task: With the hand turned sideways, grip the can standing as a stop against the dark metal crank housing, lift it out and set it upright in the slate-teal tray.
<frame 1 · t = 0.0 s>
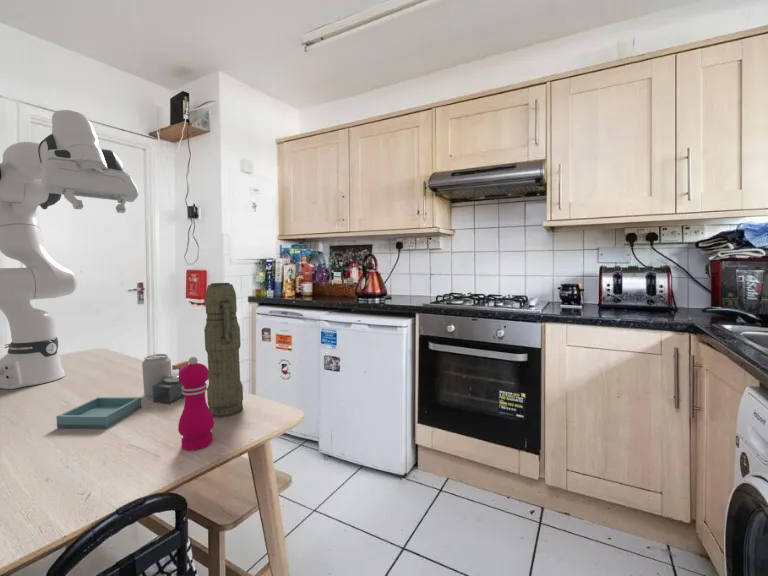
hand: (101, 210, 95), 54 cm above the table, tool tilted 30°, fingers open, 8 cm apart
crank housing: (178, 395, 113), on the table
pepper mill: (197, 444, 83), on the table
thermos: (226, 411, 101), on the table
tray: (102, 417, 98), on the table
can: (158, 394, 115), on the table
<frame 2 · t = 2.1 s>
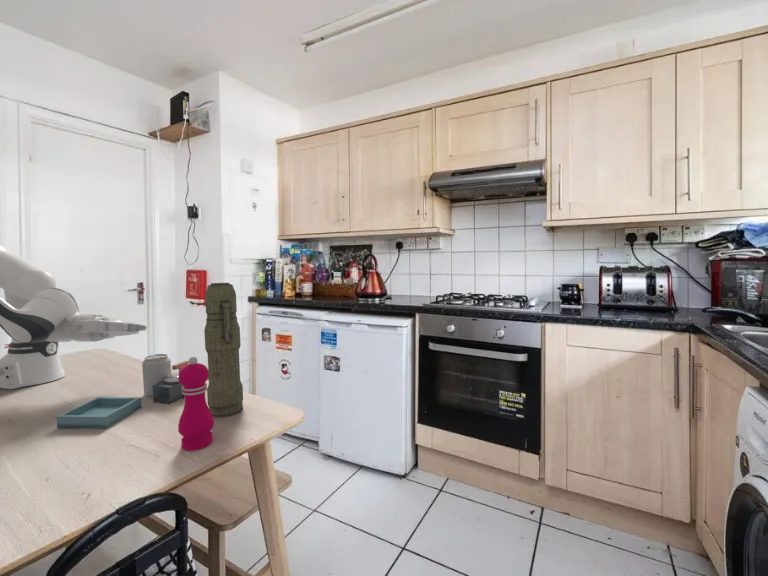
hand: (136, 327, 118), 20 cm above the table, tool horizontal, fingers open, 8 cm apart
nothing on the table moved.
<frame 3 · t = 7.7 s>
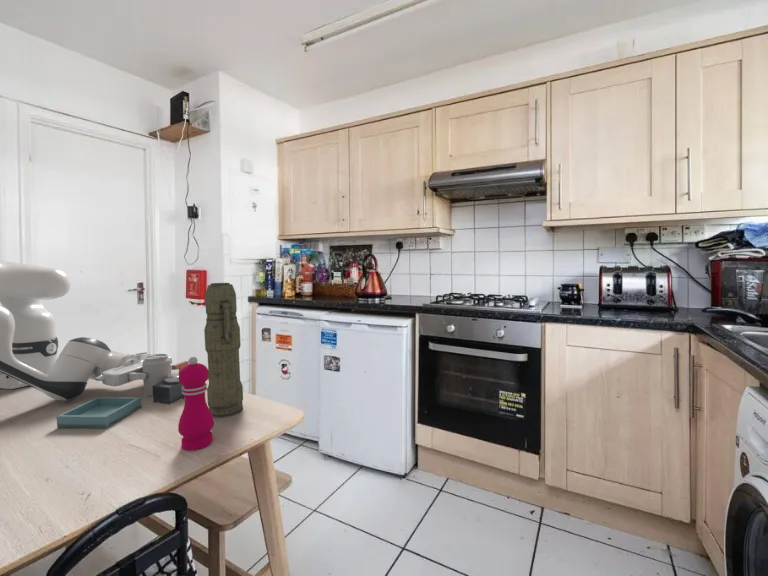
hand: (159, 371, 114), 7 cm above the table, tool horizontal, fingers closed on can, 7 cm apart
can: (158, 394, 115), on the table, touching gripper
everything else where it was.
when the fingers open (10 cm above the table, at t = 12.9 s): can stays where it is, resting on tray.
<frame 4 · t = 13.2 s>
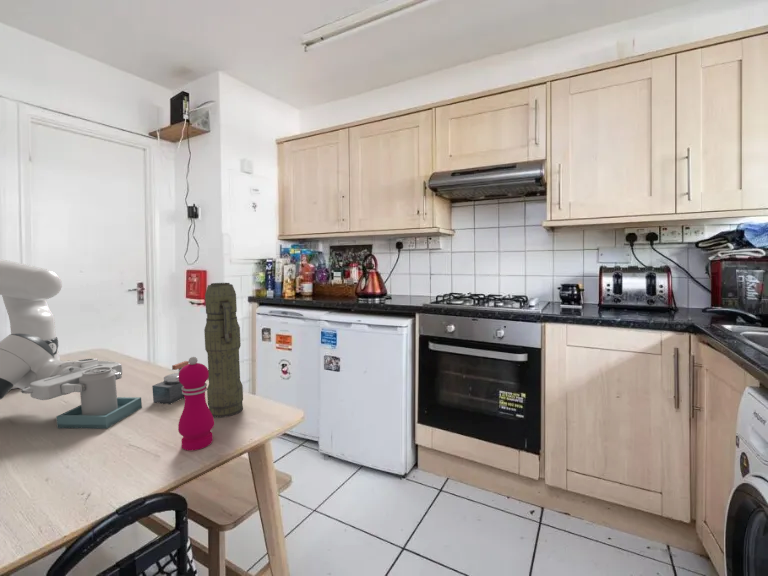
hand: (101, 381, 97), 10 cm above the table, tool horizontal, fingers open, 8 cm apart
can: (100, 414, 97), point 1 cm above the table, touching gripper, tray
everything else where it was.
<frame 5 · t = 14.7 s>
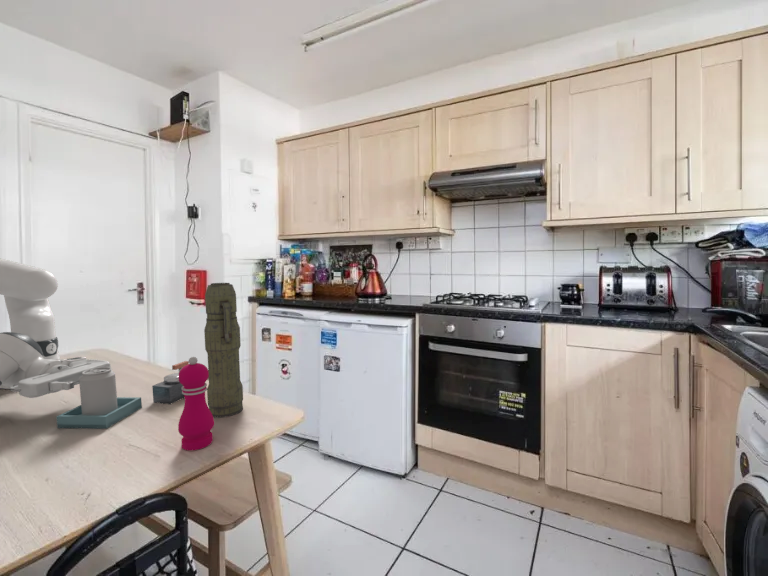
hand: (89, 379, 98), 10 cm above the table, tool horizontal, fingers open, 8 cm apart
can: (100, 414, 97), point 1 cm above the table, touching tray
everything else where it was.
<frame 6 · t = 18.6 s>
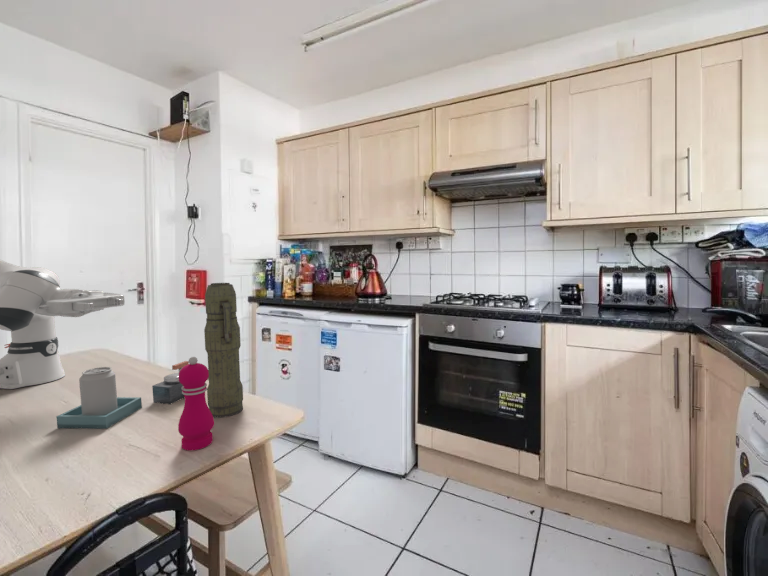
hand: (107, 304, 112), 28 cm above the table, tool horizontal, fingers open, 8 cm apart
nothing on the table moved.
at the end: can 0.3 cm off-centre on the tray, point 0.8 cm above the tray's base; can tilted 0°; the gripper is holding nothing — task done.
